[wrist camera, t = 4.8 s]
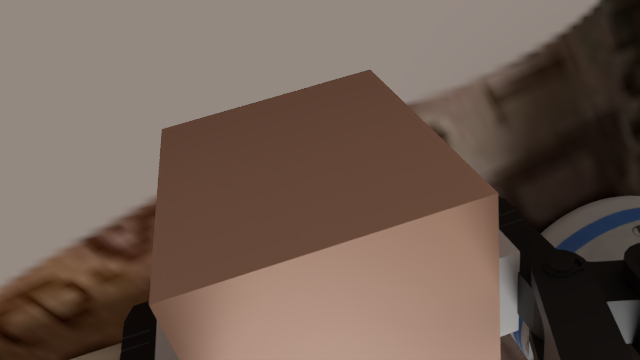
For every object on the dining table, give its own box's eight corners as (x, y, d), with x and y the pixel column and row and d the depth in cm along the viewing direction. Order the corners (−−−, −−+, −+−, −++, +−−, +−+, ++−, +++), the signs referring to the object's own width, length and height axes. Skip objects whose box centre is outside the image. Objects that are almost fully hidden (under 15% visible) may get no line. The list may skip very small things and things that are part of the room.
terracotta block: (227, 286, 20) (251, 492, 13) (161, 129, 16) (148, 305, 9) (395, 232, 20) (501, 402, 14) (370, 69, 17) (498, 193, 10)
